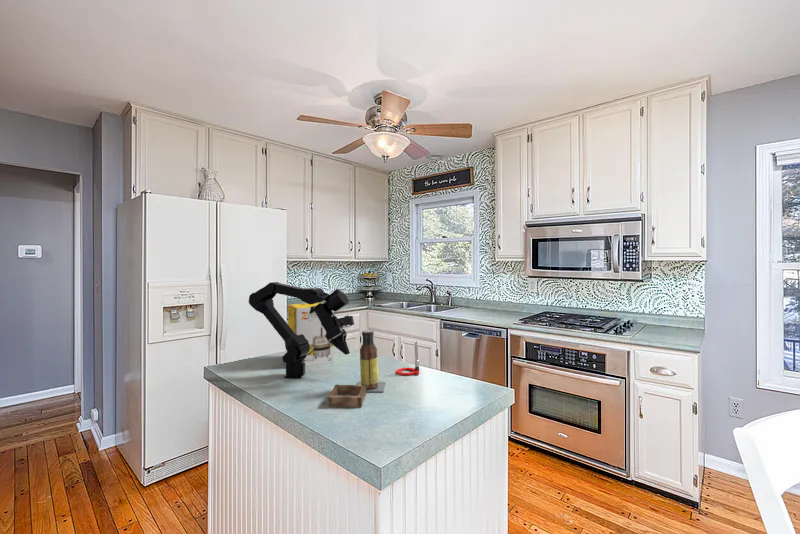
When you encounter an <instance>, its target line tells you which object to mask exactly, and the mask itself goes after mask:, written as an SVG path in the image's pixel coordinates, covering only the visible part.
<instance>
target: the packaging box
mask: <svg viewBox="0 0 800 534" xmlns="http://www.w3.org/2000/svg"><path fill="white" fill-rule="evenodd" d="M321 303H322V304H323V303H324V302H321ZM318 304H319V303H316V304H308V303H296V304H295V303H293V304H288V305H287V324H288V325H289V327H290V328H291V329H292V330H293V332H294V333H295V334H297V335H301V334H303V335H304V336H305V338H306V339H307V340H308V341H309V342H308V343H309V345H310V351H309V353H308V354H307V356H306V358H304V363H305V368H306V366H307V367H313V365H314V366H320V365H319V364H321V365H328V364H327V363H329V364H334V363H335V350H334V349H335V346H334V345H333V344H331V343H330V342H329V341H331V339H330V340H329V341H328V340H327V338H326V337H325V335H326V331H325V329H324V327H323V326H322V325H321V322H320V320H319V318H318V317H317V315H316V313H312V314H309V312H310V309H311V307H312V306H316V305H318ZM332 312H333V314H334V315H335V313H334V312H335V311H332ZM333 362H334V363H333Z"/></svg>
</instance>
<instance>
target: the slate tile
mask: <svg viewBox="0 0 800 534" xmlns="http://www.w3.org/2000/svg"><path fill="white" fill-rule="evenodd" d="M386 384H387V383H386V381H378V387H376V388H374V389H366V394H367V393H369V394H370V393H374V394H375V393H379V394H382V393H383V394H384V393H385V392H384V391H385V388H386ZM356 385H361V380H359V381H358V382H357V384H356Z"/></svg>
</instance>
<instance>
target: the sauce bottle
mask: <svg viewBox="0 0 800 534" xmlns="http://www.w3.org/2000/svg"><path fill="white" fill-rule="evenodd" d="M361 336H362V344H361V347H360V349H359V365H360V366H359V367H360V370H359V371H360V381H361V385H366V389H374V388H376V387H378V382H379V363H378V362H379V361H378V357H379V356H378V349H377V347H376V344H375V342H374V330H372V329H365V330H362V331H361Z"/></svg>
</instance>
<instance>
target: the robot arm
mask: <svg viewBox="0 0 800 534" xmlns="http://www.w3.org/2000/svg"><path fill="white" fill-rule="evenodd" d="M277 294H278V295H283V296H288V297H292V298H295V299H298V300H300V301H301V302H303V303H304V304H316V303H319V304H318V305H316V306H312V307H311V309H310V312H309V314H312V313H316V315H317V317H318V318H319V320H320V322H321V325H322V326H323V327H324V329H325V331H326V335H325V337H326V338H327V340H328V341H329V340H330V339H331V341H329V342H330V343H331V344H333V345H334V348H336V349H337V350H338V351H340V352H341V353H343V354H344V355H345V356H347V355H349V354H350V353H351V352H350V349H349V345H348V342H347V340H346V339H347V336H348V332H347V331H346V330H345V329H344V327H347V326H354V325H355V322H354V316H353V315H344V316H343V317H339V318H338V317H337V316H336V315H335V313H334V314H333V312H332V311H334V312H338V311H339V310H341V309H342V308H344V307H345V306H347V305H348V304H349V302H350V301H349V298H348V296H347V295H346V294H345V293H344V292H343V291H341V290H340V288H336V289H335V290H333V292H330V294H329V293H326V292H325V291H324V290H323V289H322V288H319V287H299V286H294V285H290V284H284V283H281V282H278V281H273V282H269V283H267V284H266V285H265V286H263V287H261V288H259V289H258V290H257V291H255V292H252V293H251V294H250V295H249V297H248V304H249V306H250V307H251V308H252V309H254V310H255V311H256V312H258V313H260V314H263V316H264V317H265V318H266V320H267V321H268V322H269V323H270V325H271V326H272V327H273V328H274V330H275V331H276V332H277V334H278V335H279V336H280V337H281V338H282V340H283V342H284V346H285V347H284V348H285V350H286V353H284V354H283V356H282V357H281V358H282V363H284V364H285V375H284V376H283V377H284V379H301V378H302V377H304V375H305V374H306V367H305V363H304V358H306V356H307V354H308V353H309V351H310V345H309V343H308V342H309V341H308V340H307V339H306V338H305V336H304V335H303V334H301V335H297V334H295V333H294V332H293V330H292V329H291V328H290V327H289V325H288V322H286V320H285V319H284V318H283V316H282V315H281V314H280V313H279V311H278V310H277V309H276V307H275V304H274V299H273V298H275V297H276V296H277ZM322 303H323V304H322Z"/></svg>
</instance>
